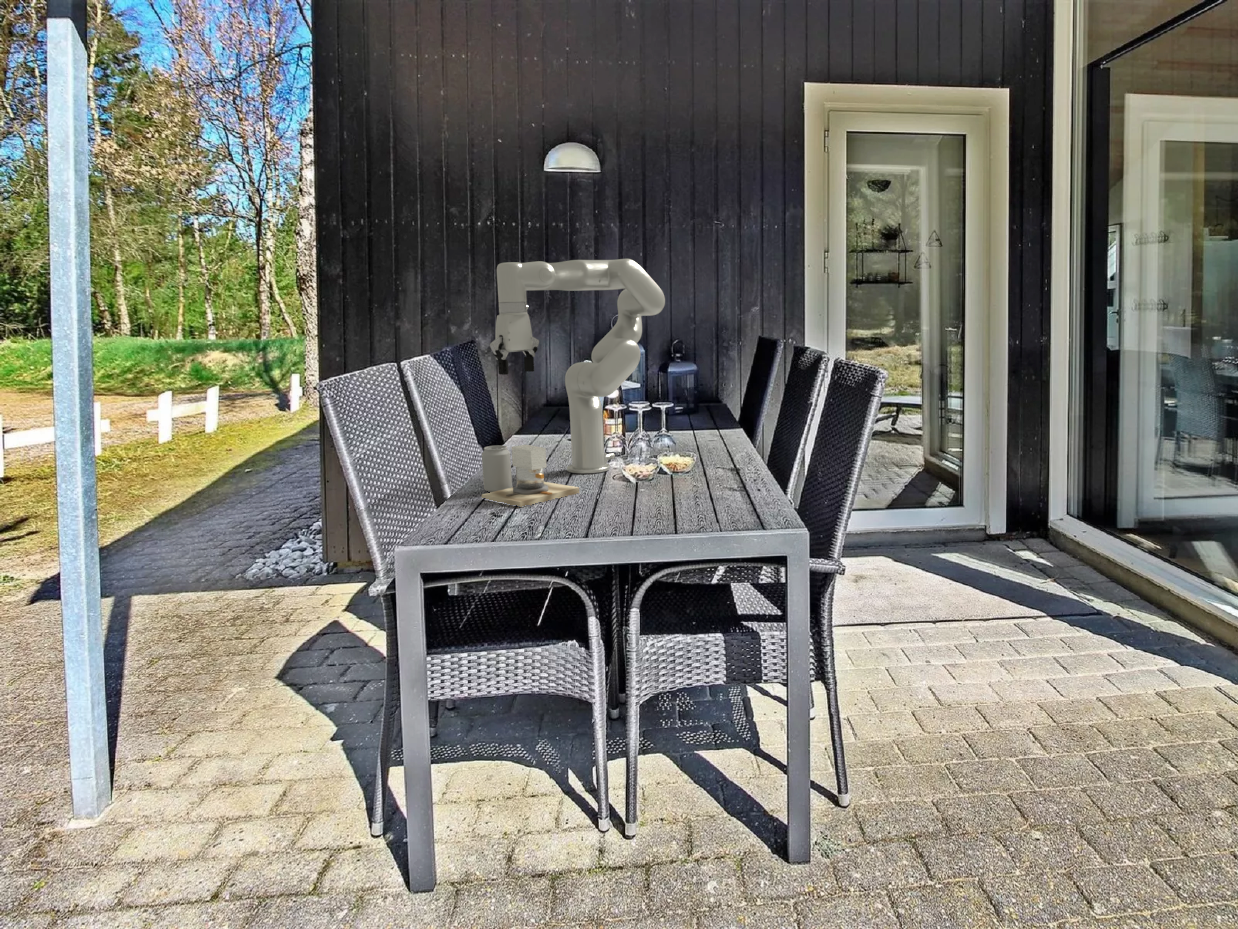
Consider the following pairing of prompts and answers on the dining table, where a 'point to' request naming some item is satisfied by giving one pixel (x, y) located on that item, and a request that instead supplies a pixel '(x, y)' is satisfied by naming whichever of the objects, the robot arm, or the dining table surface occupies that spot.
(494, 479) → the can
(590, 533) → the dining table surface
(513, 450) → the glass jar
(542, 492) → the base plate
